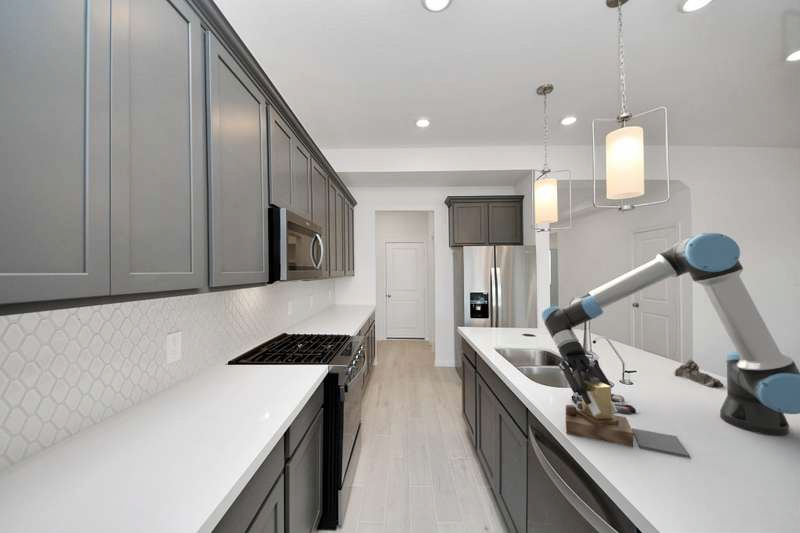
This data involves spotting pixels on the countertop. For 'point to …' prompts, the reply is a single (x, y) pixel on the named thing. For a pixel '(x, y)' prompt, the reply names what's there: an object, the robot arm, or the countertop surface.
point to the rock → (696, 374)
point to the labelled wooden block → (598, 398)
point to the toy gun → (617, 401)
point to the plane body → (598, 427)
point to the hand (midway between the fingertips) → (605, 413)
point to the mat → (660, 443)
